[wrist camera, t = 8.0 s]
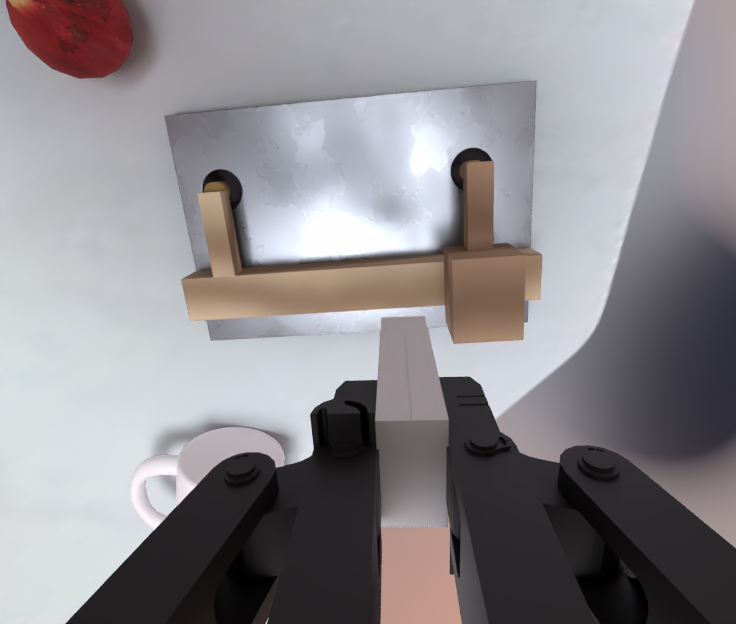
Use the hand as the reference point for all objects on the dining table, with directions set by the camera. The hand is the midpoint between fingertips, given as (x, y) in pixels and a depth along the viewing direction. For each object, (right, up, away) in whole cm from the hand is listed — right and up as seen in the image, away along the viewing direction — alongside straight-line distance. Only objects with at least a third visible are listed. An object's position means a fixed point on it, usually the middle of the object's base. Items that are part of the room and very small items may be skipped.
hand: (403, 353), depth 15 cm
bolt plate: (-2, +8, +16) cm, 18 cm away
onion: (-18, +19, +13) cm, 30 cm away
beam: (-2, +7, +15) cm, 17 cm away
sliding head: (+6, +6, +15) cm, 17 cm away
